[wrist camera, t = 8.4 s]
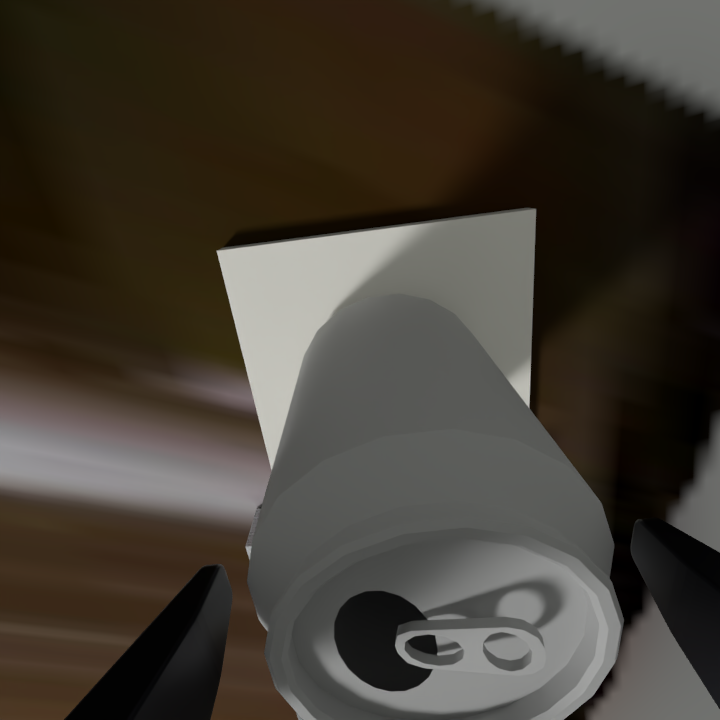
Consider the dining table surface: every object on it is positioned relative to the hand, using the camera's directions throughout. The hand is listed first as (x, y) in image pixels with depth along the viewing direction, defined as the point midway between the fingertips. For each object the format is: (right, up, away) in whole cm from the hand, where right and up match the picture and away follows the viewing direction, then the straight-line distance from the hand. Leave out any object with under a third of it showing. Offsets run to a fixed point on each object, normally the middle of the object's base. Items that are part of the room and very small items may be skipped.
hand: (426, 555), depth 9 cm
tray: (0, +4, +10) cm, 11 cm away
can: (0, +4, +9) cm, 10 cm away
